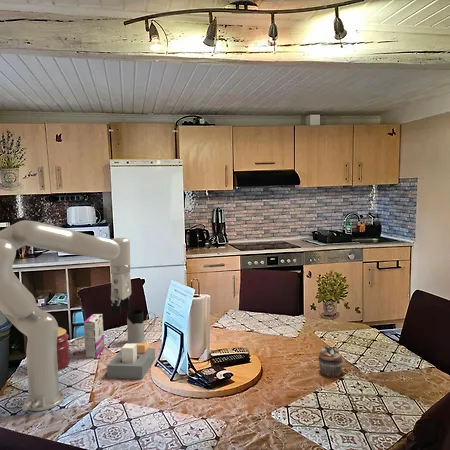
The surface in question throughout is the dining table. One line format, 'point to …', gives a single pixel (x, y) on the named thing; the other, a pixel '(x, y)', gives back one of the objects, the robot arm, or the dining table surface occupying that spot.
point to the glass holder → (136, 326)
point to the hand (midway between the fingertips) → (121, 312)
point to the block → (129, 353)
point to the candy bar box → (94, 335)
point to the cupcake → (330, 361)
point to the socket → (131, 365)
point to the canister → (62, 349)
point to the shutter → (142, 347)
